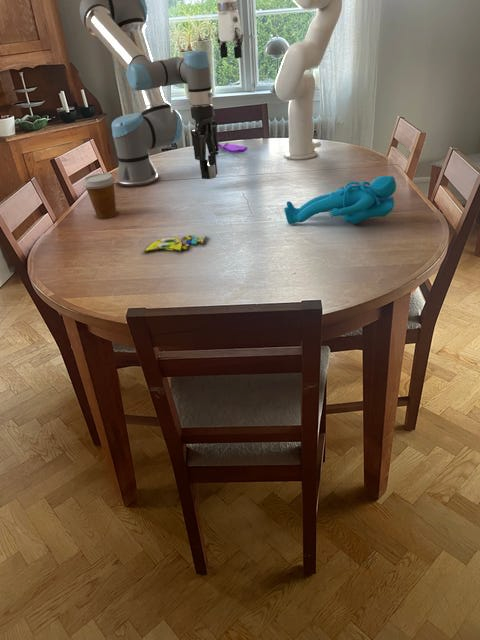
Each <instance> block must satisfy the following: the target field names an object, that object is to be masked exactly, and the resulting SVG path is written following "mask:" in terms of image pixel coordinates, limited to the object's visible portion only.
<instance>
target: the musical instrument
mask: <svg viewBox="0 0 480 640" xmlns="http://www.w3.org/2000/svg"><path fill="white" fill-rule="evenodd" d="M218 146H219V150H221V149H224V150H226V151H227V152H229V153H226V154H220V155H219V154H218V155H216V157H225V156H228V155H232V154H234V153H235V154H236V153H244V152H246V151H247V150H248V146H244V145H239V144H233V143H229V142H226V143H224V144H221V143H220V142H218Z"/></svg>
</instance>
